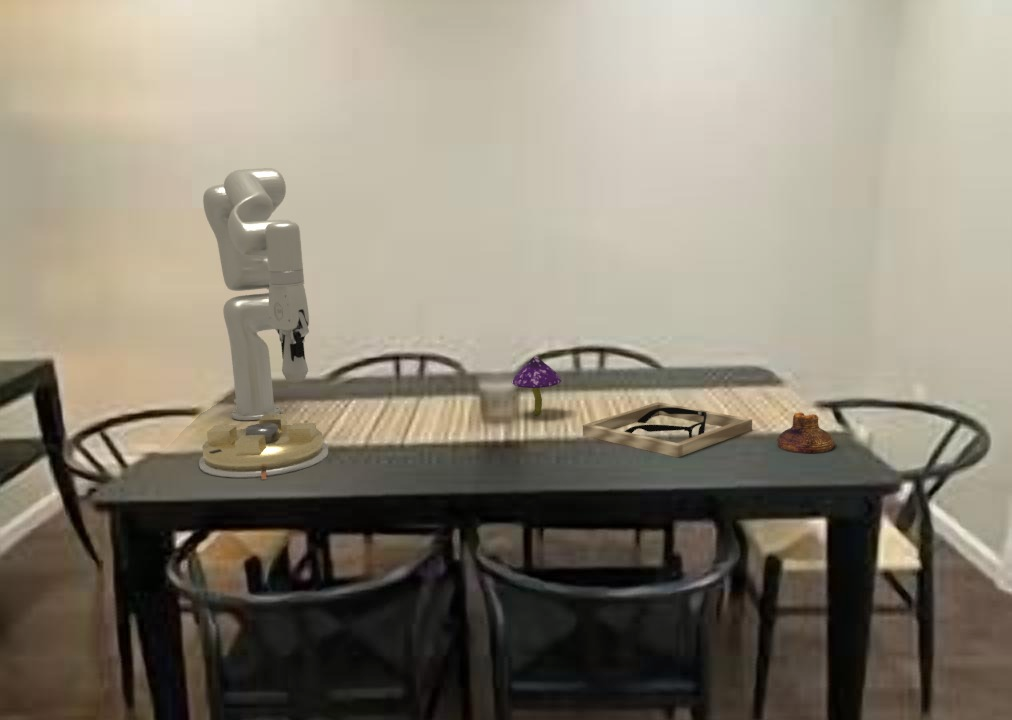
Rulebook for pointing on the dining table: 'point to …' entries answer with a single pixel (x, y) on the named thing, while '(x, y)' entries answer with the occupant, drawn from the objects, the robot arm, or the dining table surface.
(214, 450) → the round wooden platform
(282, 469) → the round white base
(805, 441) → the bell
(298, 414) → the dining table surface
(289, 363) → the salt shaker
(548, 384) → the decorative mushroom
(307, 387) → the dining table surface
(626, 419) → the shallow square wooden tray
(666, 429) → the glasses
